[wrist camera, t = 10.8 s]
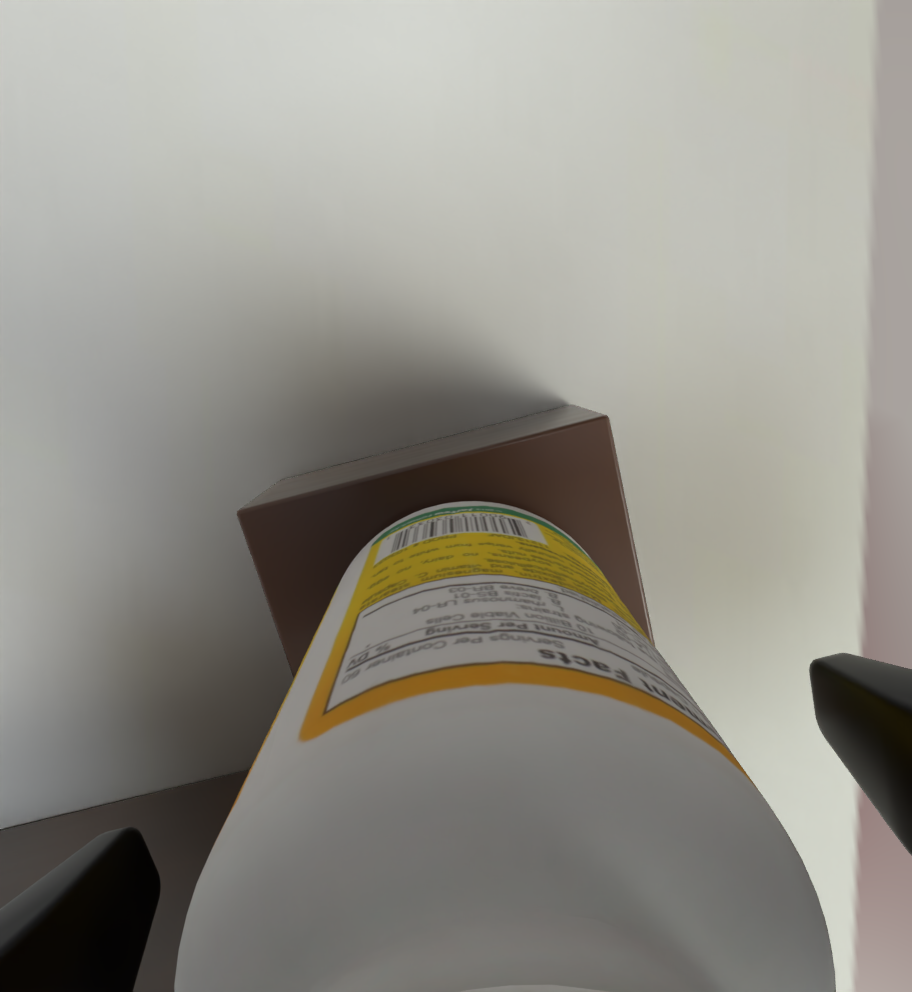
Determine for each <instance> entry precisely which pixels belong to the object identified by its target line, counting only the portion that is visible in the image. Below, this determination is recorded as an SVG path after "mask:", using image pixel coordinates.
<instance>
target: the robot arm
mask: <svg viewBox="0 0 912 992" xmlns="http://www.w3.org/2000/svg"><path fill="white" fill-rule="evenodd" d="M809 672H810V680H811V687H812V694H813V701H814V708H815V715H816V720H817V723H818V726H819V728H820V730H821V732H822V734H823V736H824V737H825V739H826V740H827V741H828V743H829V744H830V746H831V747H832V748H833V750H834V751H835V752H836V754H837V755H838V757H839V758H840V759H841V761H842V762H843V763H844V765H845V766H846V768H847V769H848V770H849V772H850V773H851V775H852V776H853V777H854V779H855V780H856V781H857V783H858V784H859V786H860V787H861V788H862V790H863V791H864V793H865V794H866V795H867V797H868V798H869V799H870V801H871V802H872V804H873V805H874V806H875V808H876V809H877V810H878V812H879V813H880V815H881V816H882V817H883V819H884V820H885V822H886V823H887V824H888V826H889V827H890V828H891V830H892V831H893V832H894V834H895V835H896V836H897V838H898V839H899V840H900V842H901V843H902V844H903V846H904V847H905V848H906V849H907V851H908V852H909V853H910V854H911V855H912V669H908V668H904V667H899V666H895V665H892V664H888V663H884V662H879V661H876V660H872V659H867V658H864V657H860V656H856V655H852V654H847V653H839V654H835V655H830V656H826V657H822V658H818V659H815V660H813V662H812V663H811V664H810V669H809ZM160 891H161V881H160V876H159V873H158V870H157V868H156V866H155V863H154V861H153V859H152V857H151V854H150V852H149V850H148V847H147V845H146V843H145V840H144V838H143V836H142V834H141V832H140V831H139V830H138V829H137V828H135V827H131V826H129V827H125V828H120V829H116V830H112V831H108V832H105V833H102V834H100V835H99V836H97V837H96V838H94V839H93V840H92V841H90V842H89V843H88V844H86V845H85V846H84V847H82V848H81V849H80V850H78V851H77V852H76V853H74V854H73V855H72V856H70V857H69V858H68V859H66V860H65V861H64V862H62V863H61V864H60V865H58V866H57V867H56V868H54V869H53V870H52V871H50V872H49V873H48V874H46V875H45V876H44V877H42V878H41V879H40V880H38V881H37V882H36V883H34V884H33V885H32V886H30V887H29V888H28V889H26V890H25V891H24V892H22V893H21V894H20V895H18V896H17V897H16V898H14V899H13V900H12V901H10V902H9V903H8V904H6V905H5V906H4V907H2V908H1V909H0V992H133V989H134V986H135V982H136V978H137V975H138V971H139V968H140V964H141V961H142V957H143V954H144V950H145V947H146V943H147V940H148V936H149V933H150V929H151V926H152V922H153V919H154V915H155V912H156V908H157V905H158V901H159V897H160Z"/></svg>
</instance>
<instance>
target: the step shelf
mask: <svg viewBox="0 0 912 992" xmlns="http://www.w3.org/2000/svg"><path fill="white" fill-rule="evenodd" d="M462 501H482V502H493V503H500V504H505V505H509V506H513V507H516V508H519V509H523V510H525V511H528V512H530V513H533V514H535V515H537V516H539V517H541V518H543V519H545V520H547V521H549V522H551V523H552V524H554V525H555V526H557V527H558V528H560V529H561V530H563V531H564V532H565V533H567V534H568V535H569V536H570V537H571V538H572V539H574V540H575V541H576V542H577V543H578V544H579V545H580V546H581V547H582V549H583V550H584V551H585V552H586V553H587V554H588V555H589V557H590V558H591V559H592V560H593V562H594V563H595V564H596V565H597V566H598V568H599V569H600V570H601V571H602V573H603V574H604V576H605V578H606V579H607V581H608V582H609V583H610V585H611V586H612V588H613V589H614V591H615V592H616V594H617V595H618V596H619V598H620V599H621V601H622V602H623V604H624V605H625V606H626V607H627V609H628V610H629V612H630V613H631V615H632V616H633V618H634V619H635V620H636V622H637V623H638V624H639V626H640V627H641V628H642V630H643V632H644V633H645V634H646V636H647V637H648V639H649V640H650V641H651V643H652V644H653V645H654V647H655V643H654V638H653V634H652V629H651V624H650V619H649V614H648V609H647V604H646V599H645V594H644V589H643V584H642V579H641V574H640V569H639V564H638V559H637V554H636V549H635V544H634V539H633V534H632V529H631V524H630V519H629V514H628V509H627V504H626V499H625V494H624V489H623V484H622V479H621V474H620V469H619V464H618V460H617V455H616V450H615V445H614V440H613V435H612V430H611V425H610V420H609V417H608V416H607V415H604V414H601V413H598V412H595V411H591V410H588V409H585V408H582V407H579V406H576V405H567V406H563V407H559V408H556V409H552V410H548V411H544V412H540V413H536V414H533V415H529V416H525V417H521V418H517V419H513V420H509V421H506V422H502V423H498V424H494V425H490V426H486V427H483V428H479V429H475V430H471V431H467V432H463V433H459V434H456V435H452V436H448V437H444V438H440V439H436V440H433V441H429V442H425V443H421V444H417V445H413V446H409V447H406V448H402V449H398V450H394V451H390V452H386V453H382V454H379V455H375V456H371V457H367V458H363V459H359V460H356V461H352V462H348V463H344V464H340V465H336V466H332V467H329V468H325V469H321V470H317V471H313V472H309V473H306V474H302V475H298V476H294V477H290V478H286V479H282V480H280V481H278V482H277V483H276V484H274V485H273V486H271V487H270V488H269V489H267V490H266V491H264V492H263V493H262V494H260V495H259V496H257V497H256V498H255V499H253V500H252V501H251V502H249V503H248V504H246V505H245V506H244V507H242V508H241V509H239V510H238V511H237V516H238V519H239V522H240V525H241V528H242V531H243V534H244V536H245V539H246V542H247V545H248V548H249V551H250V554H251V557H252V559H253V562H254V565H255V568H256V571H257V574H258V577H259V580H260V582H261V585H262V588H263V591H264V594H265V597H266V600H267V603H268V605H269V608H270V611H271V614H272V617H273V620H274V623H275V625H276V628H277V631H278V634H279V637H280V640H281V643H282V646H283V648H284V651H285V654H286V657H287V660H288V663H289V666H290V669H291V671H292V674H293V677H294V678H295V676H296V674H297V671H298V669H299V667H300V665H301V663H302V660H303V658H304V656H305V654H306V652H307V650H308V648H309V646H310V644H311V642H312V639H313V637H314V635H315V633H316V631H317V629H318V627H319V625H320V623H321V621H322V619H323V616H324V614H325V612H326V610H327V608H328V606H329V604H330V601H331V599H332V597H333V595H334V593H335V590H336V588H337V586H338V585H339V583H340V581H341V579H342V577H343V575H344V574H345V572H346V570H347V568H348V567H349V565H350V564H351V562H352V561H353V560H354V558H355V557H356V556H357V555H358V553H359V552H360V551H361V550H362V549H363V548H364V547H365V546H366V545H367V544H368V543H369V542H370V541H371V540H372V539H373V538H374V537H375V536H376V535H378V534H379V533H380V532H381V531H383V530H384V529H385V528H387V527H389V526H390V525H392V524H393V523H395V522H396V521H398V520H400V519H402V518H404V517H406V516H408V515H410V514H412V513H414V512H417V511H420V510H422V509H425V508H428V507H432V506H436V505H440V504H445V503H452V502H462ZM249 771H250V770H246V771H242V772H238V773H234V774H230V775H226V776H222V777H218V778H214V779H209V780H205V781H201V782H197V783H193V784H189V785H185V786H181V787H177V788H173V789H168V790H164V791H160V792H156V793H152V794H148V795H144V796H140V797H136V798H132V799H127V800H123V801H119V802H115V803H111V804H107V805H103V806H99V807H95V808H91V809H86V810H82V811H78V812H74V813H70V814H66V815H62V816H58V817H54V818H49V819H45V820H41V821H37V822H33V823H29V824H25V825H21V826H17V827H13V828H8V829H4V830H0V909H1V908H2V907H4V906H5V905H6V904H8V903H9V902H10V901H12V900H13V899H14V898H16V897H17V896H18V895H20V894H21V893H22V892H24V891H25V890H26V889H28V888H29V887H30V886H32V885H33V884H34V883H36V882H37V881H38V880H40V879H41V878H42V877H44V876H45V875H46V874H48V873H49V872H50V871H52V870H53V869H54V868H56V867H57V866H58V865H60V864H61V863H62V862H64V861H65V860H66V859H68V858H69V857H70V856H72V855H73V854H74V853H76V852H77V851H78V850H80V849H81V848H82V847H84V846H85V845H86V844H88V843H89V842H90V841H92V840H93V839H94V838H96V837H97V836H99V835H100V834H102V833H105V832H108V831H112V830H116V829H120V828H125V827H129V826H131V827H135V828H137V829H138V830H139V831H140V832H141V834H142V836H143V838H144V840H145V843H146V845H147V847H148V850H149V852H150V854H151V857H152V859H153V861H154V863H155V866H156V868H157V870H158V873H159V876H160V881H161V891H160V897H159V901H158V905H157V908H156V912H155V915H154V919H153V922H152V926H151V929H150V933H149V936H148V940H147V943H146V947H145V950H144V954H143V957H142V961H141V964H140V968H139V971H138V975H137V978H136V982H135V986H134V989H133V992H174V984H175V976H176V968H177V960H178V951H179V946H180V942H181V937H182V933H183V929H184V924H185V920H186V916H187V912H188V909H189V906H190V903H191V900H192V897H193V893H194V890H195V887H196V884H197V882H198V879H199V877H200V875H201V873H202V870H203V868H204V866H205V864H206V861H207V859H208V857H209V855H210V852H211V850H212V848H213V846H214V844H215V842H216V840H217V837H218V835H219V833H220V831H221V829H222V827H223V825H224V823H225V821H226V819H227V817H228V815H229V813H230V811H231V809H232V807H233V805H234V802H235V800H236V798H237V796H238V794H239V792H240V790H241V788H242V786H243V783H244V781H245V779H246V777H247V775H248V773H249Z"/></svg>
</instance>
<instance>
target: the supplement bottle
mask: <svg viewBox="0 0 912 992" xmlns="http://www.w3.org/2000/svg"><path fill="white" fill-rule="evenodd" d="M174 992H836V985H835V971H834V964H833V957H832V950H831V944H830V939H829V934H828V929H827V925H826V922H825V918H824V915H823V912H822V908H821V905H820V902H819V899H818V896H817V893H816V891H815V888H814V886H813V884H812V882H811V879H810V877H809V875H808V872H807V870H806V868H805V865H804V863H803V861H802V859H801V857H800V855H799V853H798V852H797V850H796V848H795V846H794V845H793V843H792V841H791V839H790V837H789V836H788V834H787V832H786V831H785V829H784V827H783V826H782V824H781V823H780V821H779V820H778V818H777V817H776V815H775V814H774V812H773V811H772V809H771V807H770V806H769V804H768V803H767V801H766V800H765V799H764V797H763V796H762V794H761V793H760V792H759V790H758V789H757V787H756V786H755V785H754V783H753V782H752V781H751V779H750V778H749V776H748V775H747V774H746V772H745V771H744V769H743V768H742V767H741V765H740V764H739V762H738V761H737V760H736V758H735V757H734V755H733V754H732V752H731V751H730V750H729V748H728V747H727V745H726V744H725V742H724V741H723V740H722V738H721V737H720V735H719V734H718V733H717V731H716V730H715V728H714V727H713V726H712V724H711V723H710V721H709V720H708V719H707V717H706V716H705V714H704V713H703V712H702V710H701V709H700V708H699V706H698V705H697V703H696V702H695V701H694V699H693V698H692V697H691V695H690V694H689V692H688V691H687V690H686V688H685V687H684V685H683V684H682V683H681V681H680V680H679V679H678V677H677V676H676V675H675V673H674V672H673V670H672V669H671V668H670V666H669V665H668V664H667V662H666V661H665V660H664V658H663V657H662V656H661V654H660V653H659V652H658V650H657V649H656V648H655V647H654V645H653V644H652V643H651V641H650V640H649V639H648V637H647V636H646V634H645V633H644V632H643V630H642V628H641V627H640V626H639V624H638V623H637V622H636V620H635V619H634V618H633V616H632V615H631V613H630V612H629V610H628V609H627V607H626V606H625V605H624V604H623V602H622V601H621V599H620V598H619V596H618V595H617V594H616V592H615V591H614V589H613V588H612V586H611V585H610V583H609V582H608V581H607V579H606V578H605V576H604V574H603V573H602V571H601V570H600V569H599V568H598V566H597V565H596V564H595V563H594V562H593V560H592V559H591V558H590V557H589V555H588V554H587V553H586V552H585V551H584V550H583V549H582V547H581V546H580V545H579V544H578V543H577V542H576V541H575V540H574V539H572V538H571V537H570V536H569V535H568V534H567V533H565V532H564V531H563V530H561V529H560V528H558V527H557V526H555V525H554V524H552V523H551V522H549V521H547V520H545V519H543V518H541V517H539V516H537V515H535V514H533V513H530V512H528V511H525V510H523V509H519V508H516V507H513V506H509V505H505V504H500V503H493V502H482V501H462V502H452V503H445V504H440V505H436V506H432V507H428V508H425V509H422V510H420V511H417V512H414V513H412V514H410V515H408V516H406V517H404V518H402V519H400V520H398V521H396V522H395V523H393V524H392V525H390V526H389V527H387V528H385V529H384V530H383V531H381V532H380V533H379V534H378V535H376V536H375V537H374V538H373V539H372V540H371V541H370V542H369V543H368V544H367V545H366V546H365V547H364V548H363V549H362V550H361V551H360V552H359V553H358V555H357V556H356V557H355V558H354V560H353V561H352V562H351V564H350V565H349V567H348V568H347V570H346V572H345V574H344V575H343V577H342V579H341V581H340V583H339V585H338V586H337V588H336V590H335V593H334V595H333V597H332V599H331V601H330V604H329V606H328V608H327V610H326V612H325V614H324V616H323V619H322V621H321V623H320V625H319V627H318V629H317V631H316V633H315V635H314V637H313V639H312V642H311V644H310V646H309V648H308V650H307V652H306V654H305V656H304V658H303V660H302V663H301V665H300V667H299V669H298V671H297V674H296V676H295V678H294V680H293V682H292V684H291V686H290V689H289V691H288V693H287V695H286V697H285V699H284V701H283V703H282V705H281V707H280V709H279V711H278V713H277V715H276V717H275V719H274V721H273V723H272V726H271V728H270V730H269V732H268V734H267V736H266V738H265V740H264V742H263V744H262V746H261V748H260V750H259V752H258V754H257V756H256V758H255V761H254V763H253V765H252V767H251V769H250V771H249V773H248V775H247V777H246V779H245V781H244V783H243V786H242V788H241V790H240V792H239V794H238V796H237V798H236V800H235V802H234V805H233V807H232V809H231V811H230V813H229V815H228V817H227V819H226V821H225V823H224V825H223V827H222V829H221V831H220V833H219V835H218V837H217V840H216V842H215V844H214V846H213V848H212V850H211V852H210V855H209V857H208V859H207V861H206V864H205V866H204V868H203V870H202V873H201V875H200V877H199V879H198V882H197V884H196V887H195V890H194V893H193V897H192V900H191V903H190V906H189V909H188V912H187V916H186V920H185V924H184V929H183V933H182V937H181V942H180V946H179V951H178V960H177V968H176V976H175V984H174Z"/></svg>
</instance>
